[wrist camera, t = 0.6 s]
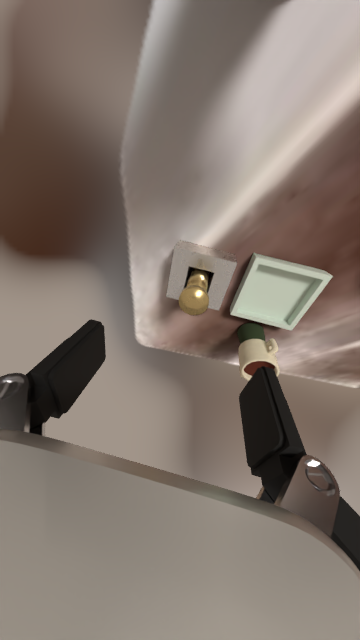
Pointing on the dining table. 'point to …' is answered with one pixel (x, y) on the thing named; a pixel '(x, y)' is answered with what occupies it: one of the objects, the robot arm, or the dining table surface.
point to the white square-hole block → (206, 260)
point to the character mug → (255, 350)
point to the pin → (195, 293)
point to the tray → (277, 291)
